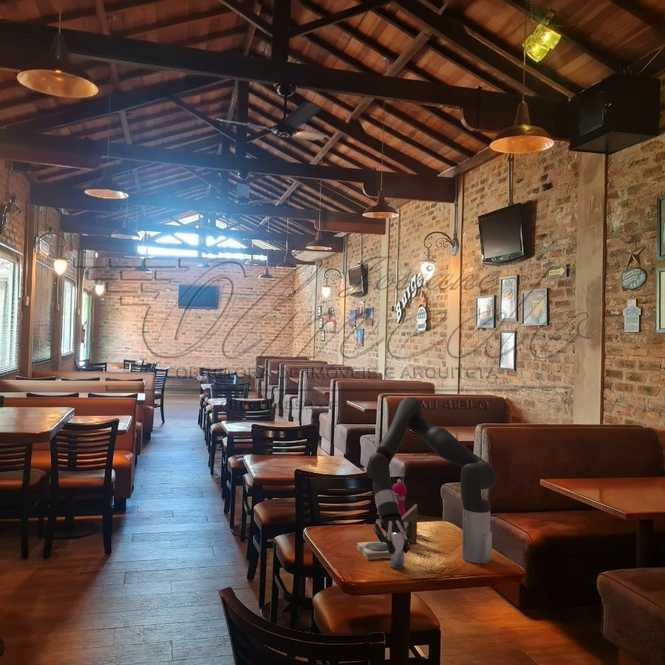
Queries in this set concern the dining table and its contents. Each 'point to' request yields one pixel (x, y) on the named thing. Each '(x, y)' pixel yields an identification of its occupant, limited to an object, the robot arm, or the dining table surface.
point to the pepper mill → (400, 496)
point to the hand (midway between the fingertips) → (399, 552)
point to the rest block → (373, 550)
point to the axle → (397, 549)
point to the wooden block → (411, 517)
